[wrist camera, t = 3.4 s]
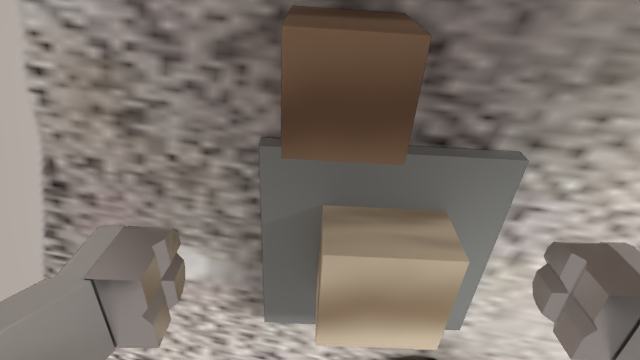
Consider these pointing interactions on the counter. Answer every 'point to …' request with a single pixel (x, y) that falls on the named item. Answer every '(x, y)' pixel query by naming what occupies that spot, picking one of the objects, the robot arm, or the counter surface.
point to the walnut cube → (350, 84)
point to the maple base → (386, 277)
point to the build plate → (378, 192)
